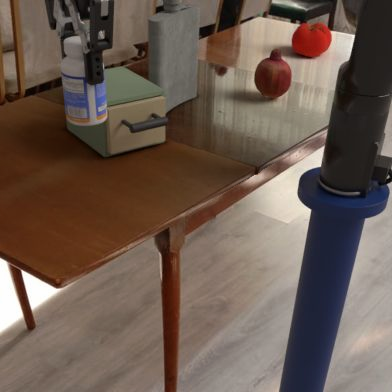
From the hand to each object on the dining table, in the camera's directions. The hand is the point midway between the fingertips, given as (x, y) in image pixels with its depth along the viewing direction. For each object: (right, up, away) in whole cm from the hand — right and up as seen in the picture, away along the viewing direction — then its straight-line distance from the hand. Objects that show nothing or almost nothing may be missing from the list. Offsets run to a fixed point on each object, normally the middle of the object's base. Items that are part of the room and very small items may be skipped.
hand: (83, 76), depth 79 cm
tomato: (+44, +41, +82) cm, 102 cm away
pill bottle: (0, -4, +4) cm, 6 cm away
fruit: (+30, +20, +57) cm, 67 cm away
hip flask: (+9, +17, +52) cm, 55 cm away
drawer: (+1, +4, +36) cm, 36 cm away
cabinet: (-1, +5, +38) cm, 39 cm away
